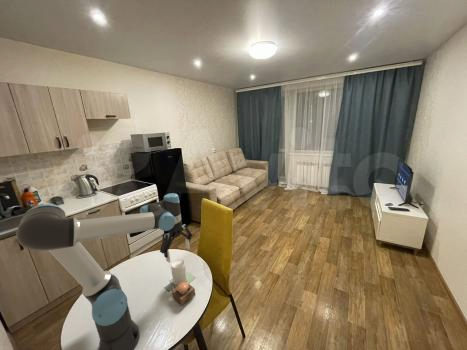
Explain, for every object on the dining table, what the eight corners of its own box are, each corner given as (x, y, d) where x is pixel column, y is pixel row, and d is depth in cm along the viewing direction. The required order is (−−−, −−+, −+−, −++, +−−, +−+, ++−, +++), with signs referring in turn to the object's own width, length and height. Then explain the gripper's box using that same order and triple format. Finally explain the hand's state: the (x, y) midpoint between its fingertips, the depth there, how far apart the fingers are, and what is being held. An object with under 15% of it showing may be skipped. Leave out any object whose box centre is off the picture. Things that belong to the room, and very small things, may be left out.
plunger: (183, 302, 99) (181, 293, 98) (176, 296, 103) (174, 287, 101) (192, 294, 104) (190, 285, 102) (185, 289, 108) (183, 280, 106)
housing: (182, 306, 98) (181, 299, 97) (172, 298, 103) (171, 291, 102) (195, 295, 104) (194, 288, 103) (185, 287, 109) (184, 281, 108)
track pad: (168, 291, 107) (168, 291, 107) (164, 287, 110) (164, 287, 110) (175, 286, 111) (175, 286, 110) (170, 282, 113) (170, 282, 113)
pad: (180, 290, 108) (180, 289, 108) (169, 281, 115) (169, 280, 114) (195, 277, 116) (195, 277, 116) (184, 269, 123) (184, 269, 123)
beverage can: (189, 276, 117) (187, 259, 114) (183, 286, 110) (181, 269, 106) (177, 274, 119) (174, 258, 116) (170, 285, 111) (168, 267, 108)
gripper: (157, 233, 94) (162, 270, 99) (196, 214, 112) (199, 246, 118) (149, 229, 98) (155, 264, 104) (188, 211, 117) (191, 242, 122)
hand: (178, 254), depth 111 cm, fingers open, 13 cm apart
